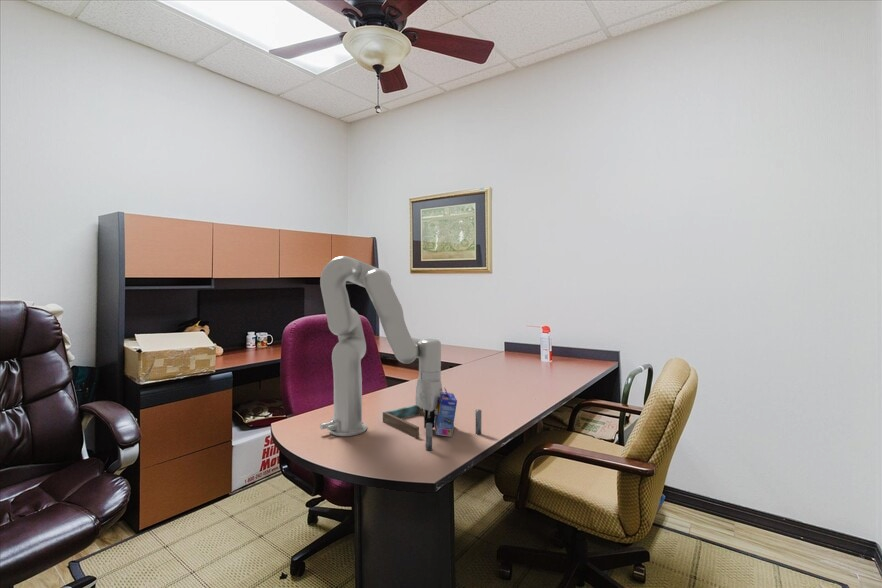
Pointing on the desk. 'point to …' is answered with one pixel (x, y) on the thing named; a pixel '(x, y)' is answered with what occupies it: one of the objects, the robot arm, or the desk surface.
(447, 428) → the ink cartridge box
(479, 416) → the post right
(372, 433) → the desk surface
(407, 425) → the channel
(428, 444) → the post left
